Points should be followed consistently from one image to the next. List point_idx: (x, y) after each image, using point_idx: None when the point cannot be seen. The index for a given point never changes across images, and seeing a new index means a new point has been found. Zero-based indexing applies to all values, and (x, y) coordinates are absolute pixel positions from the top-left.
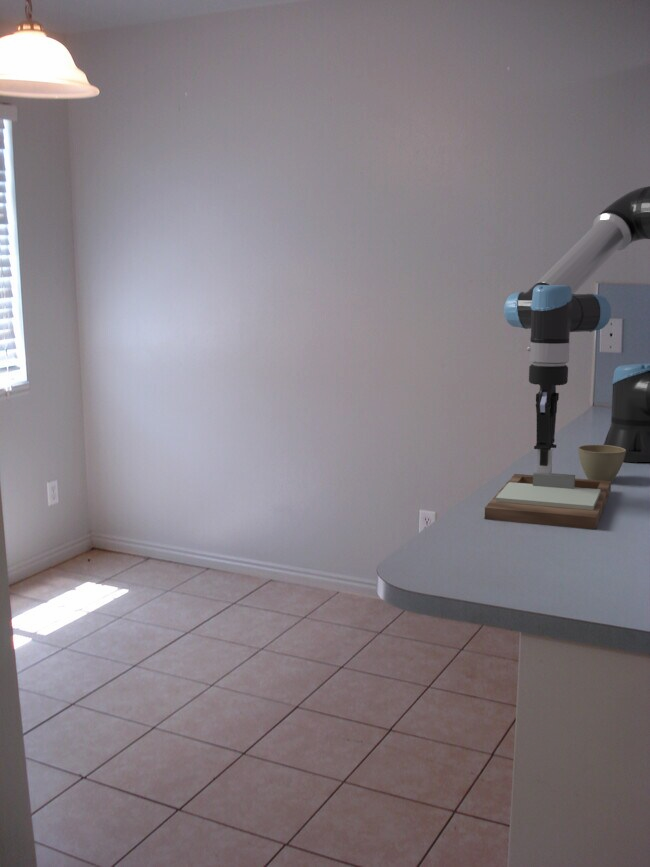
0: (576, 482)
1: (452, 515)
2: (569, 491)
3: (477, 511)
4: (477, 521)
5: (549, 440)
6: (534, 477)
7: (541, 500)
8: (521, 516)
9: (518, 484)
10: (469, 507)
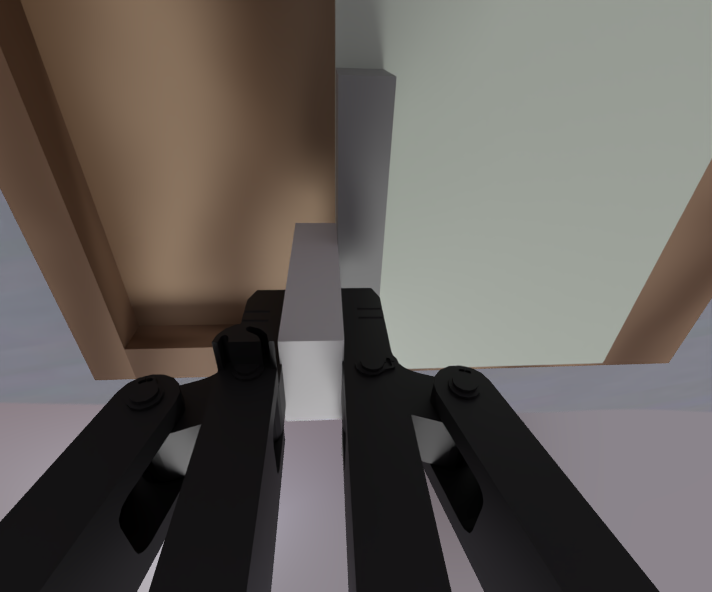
0: (23, 82)
1: (595, 405)
2: (457, 89)
3: (549, 368)
4: None
5: (490, 428)
6: None
7: (667, 208)
8: None
9: None
10: (504, 392)
